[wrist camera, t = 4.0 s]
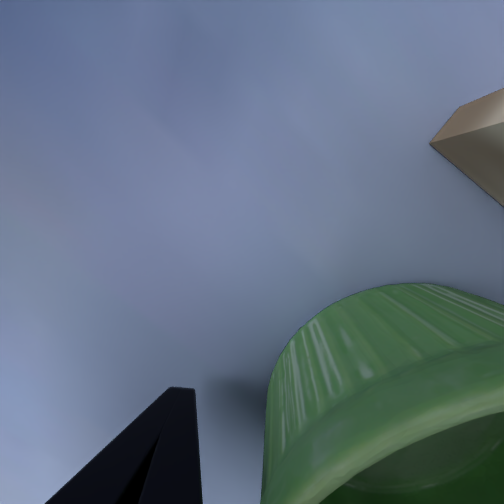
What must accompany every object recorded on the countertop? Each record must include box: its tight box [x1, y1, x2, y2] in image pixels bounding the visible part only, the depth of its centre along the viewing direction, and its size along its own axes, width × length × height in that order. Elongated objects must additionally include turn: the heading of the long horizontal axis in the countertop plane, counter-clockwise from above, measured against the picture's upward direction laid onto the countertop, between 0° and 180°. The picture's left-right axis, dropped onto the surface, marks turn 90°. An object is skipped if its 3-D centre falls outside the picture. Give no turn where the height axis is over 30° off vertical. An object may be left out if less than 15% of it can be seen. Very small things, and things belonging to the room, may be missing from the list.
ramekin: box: [260, 283, 504, 504], centre depth 6 cm, size 9×9×4 cm
